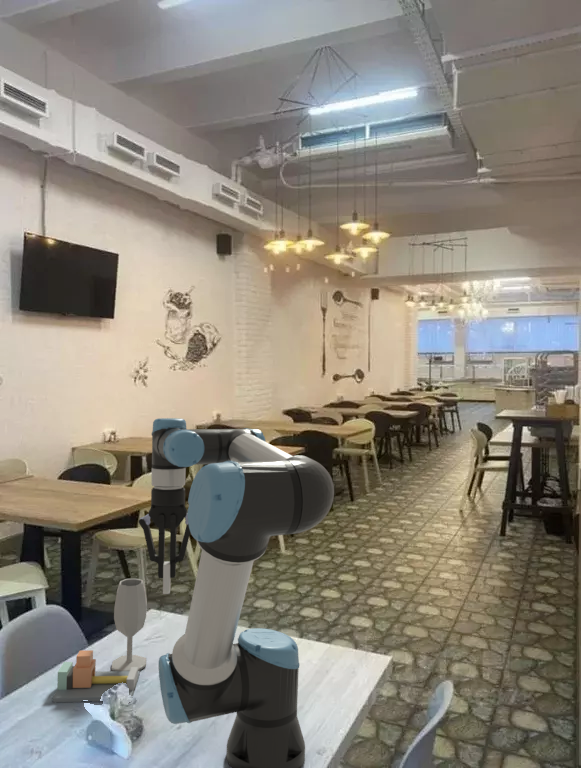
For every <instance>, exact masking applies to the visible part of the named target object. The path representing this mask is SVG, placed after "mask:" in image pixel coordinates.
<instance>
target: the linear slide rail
mask: <svg viewBox="0 0 581 768" xmlns="http://www.w3.org/2000/svg"><path fill="white" fill-rule="evenodd" d="M73 664H74V663H73V661H63V663H62V664H61V666H60V668H59V670H58V671H57V688H56V689H57V690H56V691H55V693H54V695H53V697H52V703H82V702H81V701H83V700H88V701H92V702H93V703H95V702H98V701H100V699H101V696H102V694H103V693H104V692H105V691H107V690H108V689H110V688H112V687H113V686H114V685H116V684H118V683H122V682H123V683H126V684H127V686H128V688H129V695H131V696H133V697H134V693H135V691H136V688H137V685H138V681H139V678H140V674H141V673H140V672H141V670H140V671H138V667H131V669H130V671H113V670H109V671H104V670H103V671H95V676H92V686H91V688H73V668H74V666H75V665H73Z"/></svg>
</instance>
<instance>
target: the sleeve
mask: <svg viewBox="0 0 581 768" xmlns="http://www.w3.org/2000/svg"><path fill="white" fill-rule="evenodd" d="M75 657H76V660H75V661H76V663H75V664H74V665H73V666H74V668H73V688H91V686H92V676H95V672H96V665H97V664H96V663H97V661H96V660H97V659H96V658H94V650H91V649H90V650H88V649H87V650H79V651H78V653H77V655H76V656H75Z"/></svg>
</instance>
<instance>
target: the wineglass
mask: <svg viewBox="0 0 581 768" xmlns="http://www.w3.org/2000/svg"><path fill="white" fill-rule="evenodd" d="M117 586H118V587H117V589H116V590H117V591H116V595H115V596H116V597H115V601H114V602H115V603H114V610H113V613H114V614H113V620H114V623H115V628H116V630H117V631H118V632H119V633H121V634H122V635H124V636H125V637H127V638H126V655H121V656H119V657H118V658H115V659H114V660H112V664H111V671H130V669H131V667H138V671H140V672H141V670H143V669H144V668H146V667H147V657H145V656H141V655H136V654H133V637H134V636H135V635H137V633H139V632H140V631H141V630H142V629H143V628H144V626H145V623H146V619H147V603H148V602H147V601H148V599H147V593H146V587H145V583H144V580H143V579H140V578H135V577H134V578H125V579H122V580H120V581H119V583H118V585H117Z"/></svg>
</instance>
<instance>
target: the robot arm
mask: <svg viewBox="0 0 581 768" xmlns="http://www.w3.org/2000/svg"><path fill="white" fill-rule="evenodd" d="M151 436H152V437H151V441H152V442H151V451H152V452H151V482H150V483H151V486H153V487H152V488H151V492H150V496H151V497H150V509H148V513H147V514H146V515H144V516H141V517H140V518H139V520H138V524H139V525H140V527H141V528H142V530H143V534H144V539H145V543H146V547H147V552H148V557H149V560H150V562H153V563H156V564H157V566H158V567H157V577H158V579H162V594H163V595H170V593H171V579H173V578H176V574H177V571H176V569H177V563H178V562H182V561H183V560H184V559H185V554H186V550H187V547H188V543H189V538H190V535H191V536H192V537H193V539H194V540H195V541H196V542H197V544H198V546H199V548H200V550H201V552H200V558H199V561H198V562H199V563H198V568H197V572H196V573H197V574H196V578H195V583H194V588H193V592H192V597H191V603H190V606H189V612H188V616H187V623H186V627H185V630H184V631H185V632H184V634H182V635H181V636H180V637H179V638H178V639H177V640H176V641H175V643H174V646H173V649H172V652H171V653H169V652H167V653H165V654H163V655H161V656H160V657H159V660H158V677H159V685H160V686H159V687H160V695H161V699H162V700H161V701H162V705H163V709H164V713H165V716H166V718H167V720H168V721H169V722H170V723H171V724H173V725H177V724H183V723H188V724H191V723H192V722H193V723H194V722H197V721H198V722H199V721H201V720H206V719H211V718H216V717H219V716H220V717H221V716H224V715H228V714H235V713H236V715H235V718H234V722H233V724H232V726H231V730H230V733H229V736H228V739H227V742H226V758H225V759H226V761H227V763H228V766H229V767H230V766H231V767H232V768H301V767H302V766H303V765H304V764H305V763H304V762H305V759H306V758H305V757H306V744H305V743H306V742H305V740H304V735H303V731H302V729H301V728H302V727H301V726H300V725H301V724H300V722H299V719H298V696H299V695H298V694H299V691H298V690H299V670H300V669H299V668H300V662H299V646H298V644H297V643H296V641H295V640H294V639H293V638H292V637H291V636H289V635H288V634H286V633H283V632H281V631H278V630H275V629H270V628H261V627H258V628H257V627H256V628H255V627H254V628H248V629H245V630H243V631H241V632H240V634H238V635H239V636H238V638H237V643H234V640H235V637H236V632H237V629H238V624H239V621H240V618H241V613H242V608H243V605H244V601H245V598H246V597H245V596H246V593H247V590H248V585H249V581H250V579H251V578H250V577H251V573H252V570H253V567H254V562H255V561H256V560H259V559H260V558H261V557H262V556H263V555H264V554H265V553H266V550H267V548H268V545H269V542H270V539H271V537H273V536H284V535H285V536H286V535H294V534H300V533H305V532H306V531H309V530H311V529H313V528H314V527H316V526H317V525H318V524H321V522H322V521H323V520H324V519H325V518H326V516H327V515H328V513H329V511H330V510H331V508H332V506H333V502H334V496H335V487H334V486H335V485H334V482H333V478H332V476H331V474H330V473H329V472H328V470H327V469H326V468H325V467H324V466H323V465H322V464H321V463H320V462H318V461H316V460H314V459H313V458H310V457H308V456H305V455H292V454H289V453H288V452H285V451H284V450H282V449H281V448H278V447H276V446H275V445H272V444H270V443H269V442H267V441H266V437H265V435H264V433H263V432H262V431H261V430H260V429H258V428H248V427H244V428H229V429H228V428H224V429H222V428H220V429H218V428H215V429H214V428H213V429H212V428H210V429H208V428H207V429H206V428H205V429H204V428H202V429H201V428H199V429H197V428H194V429H193V428H192V429H191V428H190V429H188V428H187V421H186V420H185V419H184V418H177V417H175V418H173V417H172V418H168V417H167V418H162V417H161V418H156V419H154V420H153V422H152V431H151ZM194 465H195V466H196V465H204V466H202V467H201V468H200V469H199V470H198V471H197V473H196V474H195V476H194V478H193V480H192V482H191V483H192V484H191V486H190V490H189V493H188V499H187V504H188V508H186V488H185V487H184V486H185V485H186V469H187V468H188V467H193V466H194ZM184 519H185V523H184V524H186V526H185V529H184V533H183V538H182V542H181V546H180V549H179V553H178V554H177V530H178V529H177V528H178V527H180V524H181V523H182V522H183V521H184ZM151 520H152V522H153V523H154V525H155V526H156V527H157V528H158V545H157V546H158V551H157V552H156V548H155V543H154V539H153V536H152V531H151V527H150V524H151ZM166 529H170V533H169V535H170V537H169V538H170V540H169V541H170V542H169V543H170V544H169V547H170V548H169V551H170V552H169V555H170V556H169V561H168V560H167V561H165V553H166V551H165V548H166V547H165V543H166V539H165V538H166ZM156 553H157V554H156ZM231 767H230V768H231Z"/></svg>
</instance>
